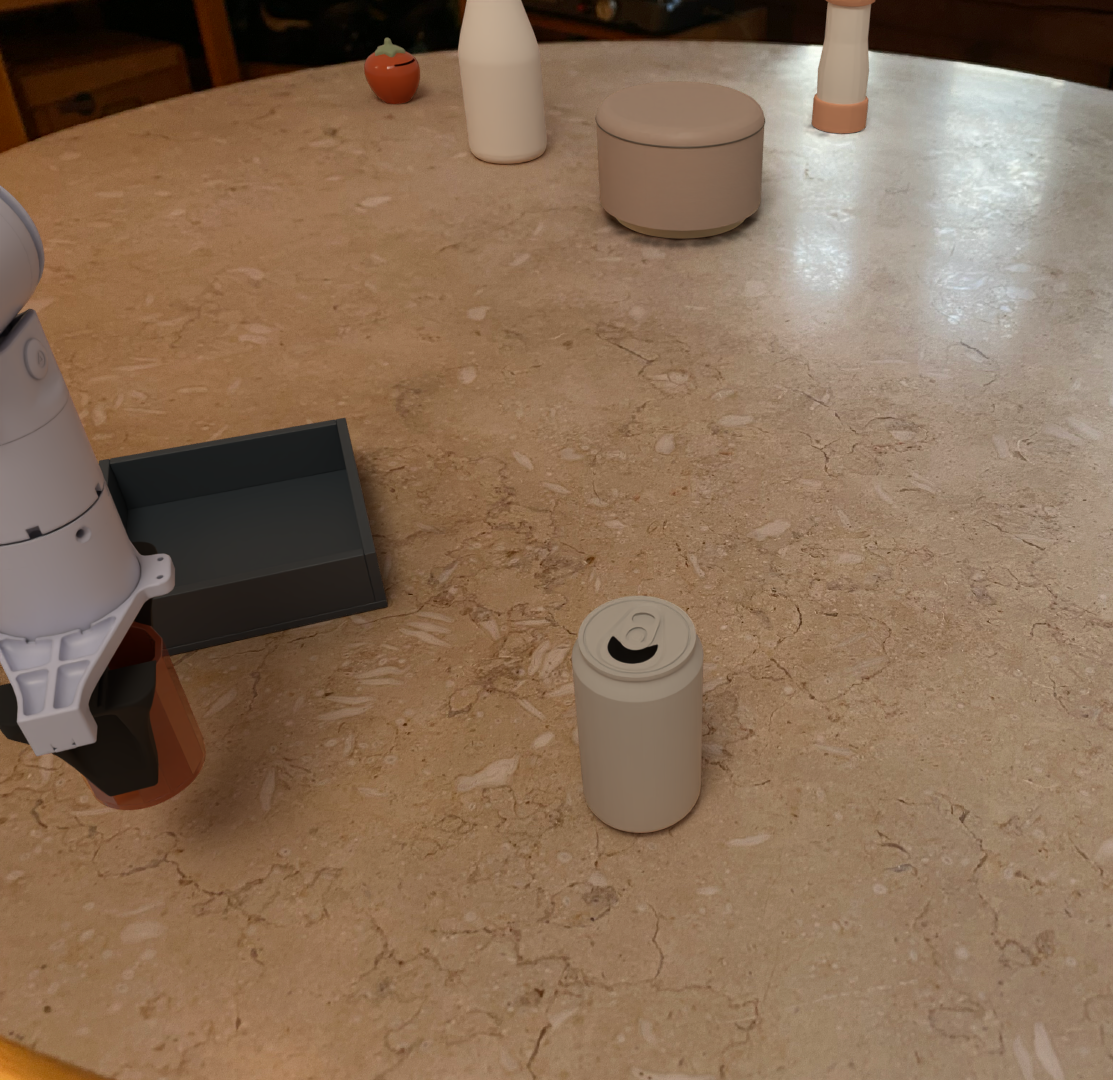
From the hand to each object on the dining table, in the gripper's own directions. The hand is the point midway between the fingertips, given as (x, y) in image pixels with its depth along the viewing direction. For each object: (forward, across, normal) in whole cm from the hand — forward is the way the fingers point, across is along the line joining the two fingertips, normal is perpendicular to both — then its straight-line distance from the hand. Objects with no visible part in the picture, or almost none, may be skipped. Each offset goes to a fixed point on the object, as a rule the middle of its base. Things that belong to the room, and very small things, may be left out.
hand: (135, 738), depth 50 cm
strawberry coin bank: (+10, +120, -27) cm, 124 cm away
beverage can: (+10, -4, -23) cm, 25 cm away
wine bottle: (+10, +95, -37) cm, 103 cm away
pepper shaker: (+10, +93, -81) cm, 124 cm away
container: (+10, +71, -52) cm, 89 cm away
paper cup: (+2, 0, 0) cm, 2 cm away
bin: (+9, +24, -4) cm, 26 cm away
